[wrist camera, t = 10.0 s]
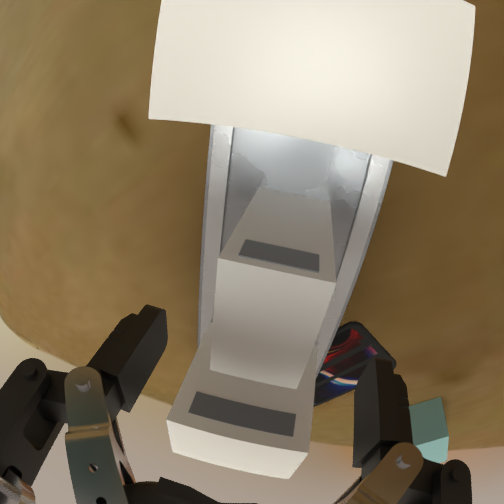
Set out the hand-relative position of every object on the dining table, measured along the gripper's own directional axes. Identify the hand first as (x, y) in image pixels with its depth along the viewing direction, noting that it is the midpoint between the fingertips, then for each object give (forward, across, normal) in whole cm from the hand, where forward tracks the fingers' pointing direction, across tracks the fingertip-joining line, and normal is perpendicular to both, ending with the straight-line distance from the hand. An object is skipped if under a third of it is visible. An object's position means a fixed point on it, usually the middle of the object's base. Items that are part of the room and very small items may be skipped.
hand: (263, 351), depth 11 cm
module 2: (+9, 0, +10) cm, 13 cm away
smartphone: (+10, -4, +13) cm, 18 cm away
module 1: (+9, 0, -10) cm, 13 cm away
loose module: (+9, 0, 0) cm, 9 cm away
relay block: (+8, -16, +15) cm, 23 cm away
